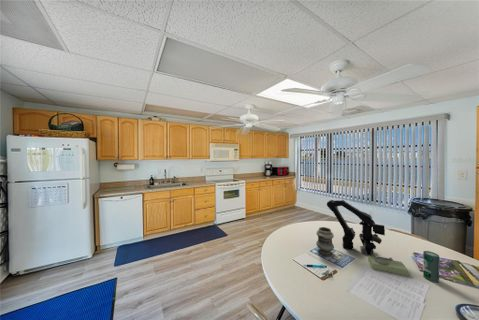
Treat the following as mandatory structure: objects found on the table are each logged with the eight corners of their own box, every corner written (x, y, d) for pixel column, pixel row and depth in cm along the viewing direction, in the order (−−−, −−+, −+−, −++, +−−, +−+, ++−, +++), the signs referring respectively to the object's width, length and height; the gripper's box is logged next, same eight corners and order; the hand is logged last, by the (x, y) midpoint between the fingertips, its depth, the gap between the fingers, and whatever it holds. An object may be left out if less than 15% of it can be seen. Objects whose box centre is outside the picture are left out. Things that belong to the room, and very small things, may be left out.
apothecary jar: (315, 254, 127) (315, 230, 127) (316, 246, 138) (316, 224, 138) (334, 258, 121) (334, 233, 121) (333, 250, 132) (333, 227, 132)
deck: (372, 268, 111) (372, 261, 110) (365, 256, 124) (365, 250, 124) (408, 275, 103) (408, 268, 103) (397, 262, 117) (397, 256, 117)
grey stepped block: (362, 253, 128) (362, 247, 128) (360, 250, 132) (360, 244, 132) (373, 255, 125) (373, 249, 125) (371, 252, 130) (371, 246, 130)
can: (422, 273, 105) (422, 249, 105) (437, 278, 101) (437, 253, 101) (424, 279, 100) (424, 254, 100) (440, 284, 96) (440, 257, 96)
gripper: (385, 238, 116) (385, 261, 116) (376, 228, 133) (376, 248, 133) (365, 235, 121) (365, 257, 121) (359, 226, 138) (359, 245, 138)
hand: (367, 251), depth 128 cm, fingers open, 8 cm apart
